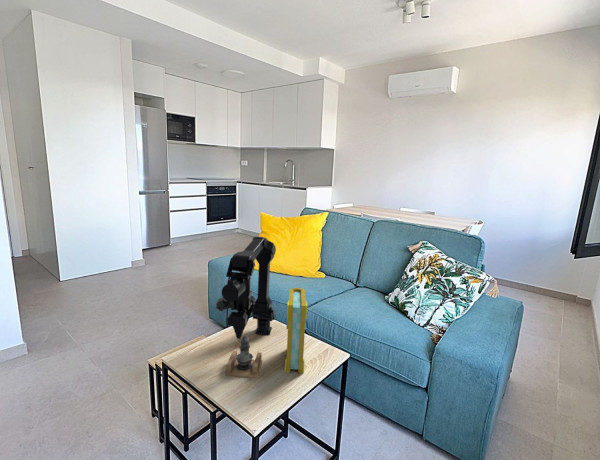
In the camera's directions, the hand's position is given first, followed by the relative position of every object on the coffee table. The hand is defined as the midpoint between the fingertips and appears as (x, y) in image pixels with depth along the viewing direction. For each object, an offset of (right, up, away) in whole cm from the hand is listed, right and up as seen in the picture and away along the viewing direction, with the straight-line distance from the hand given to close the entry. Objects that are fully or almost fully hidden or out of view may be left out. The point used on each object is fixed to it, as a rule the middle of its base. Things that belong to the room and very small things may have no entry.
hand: (241, 332), depth 116 cm
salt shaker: (+1, -12, 0) cm, 12 cm away
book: (+19, -13, +7) cm, 24 cm away
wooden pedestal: (+1, -13, 0) cm, 13 cm away
